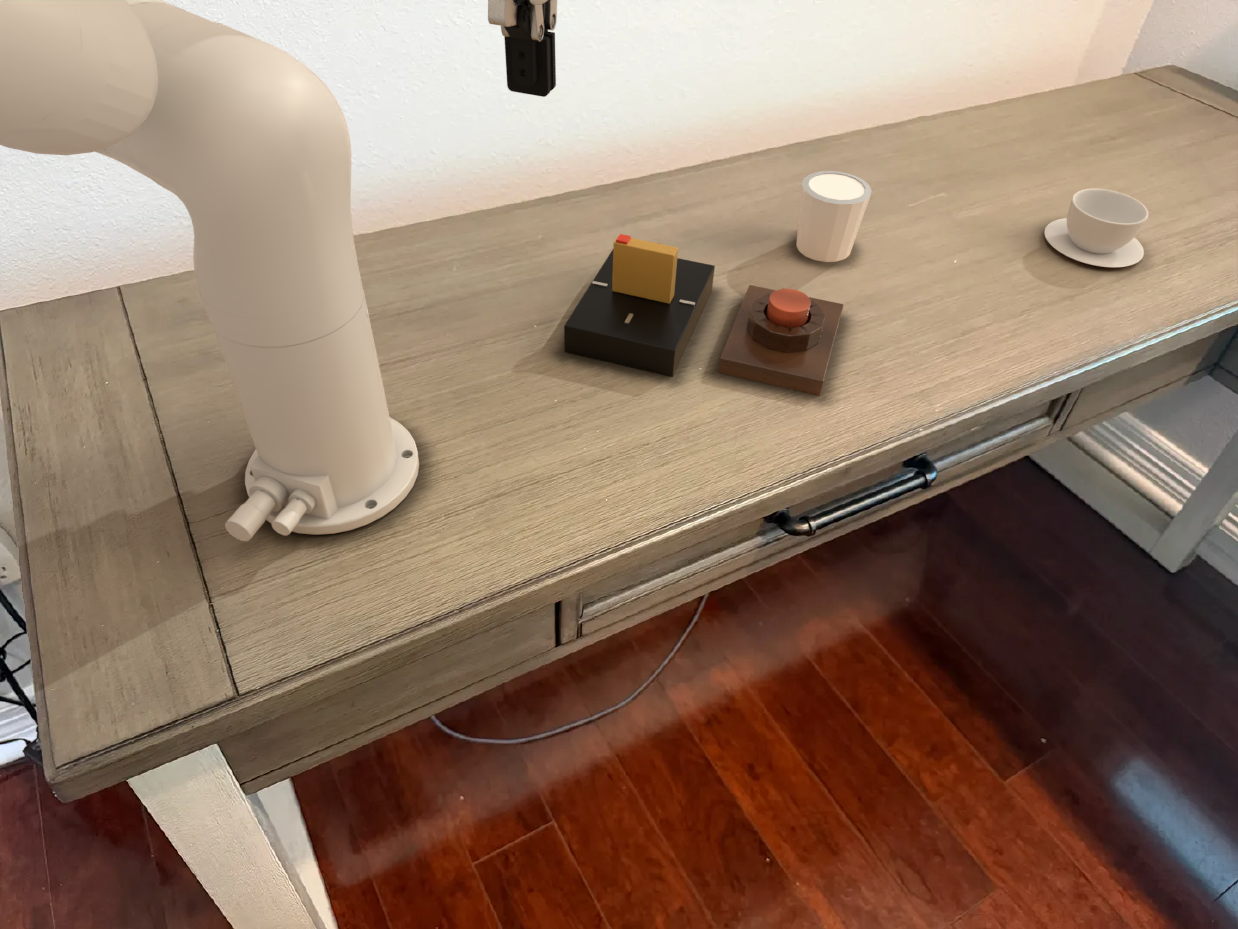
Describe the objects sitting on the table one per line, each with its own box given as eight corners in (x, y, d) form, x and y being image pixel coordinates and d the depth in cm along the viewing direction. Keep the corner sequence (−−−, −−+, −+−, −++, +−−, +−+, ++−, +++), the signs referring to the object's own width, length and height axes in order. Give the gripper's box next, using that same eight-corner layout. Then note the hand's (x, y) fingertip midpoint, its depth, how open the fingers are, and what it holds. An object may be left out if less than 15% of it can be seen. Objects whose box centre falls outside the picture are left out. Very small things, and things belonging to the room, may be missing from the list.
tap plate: (672, 378, 77) (675, 348, 75) (564, 353, 79) (563, 324, 77) (711, 292, 87) (715, 263, 84) (614, 271, 89) (615, 243, 86)
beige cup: (780, 254, 92) (792, 191, 87) (803, 224, 96) (815, 163, 91) (845, 273, 90) (860, 209, 85) (864, 242, 94) (880, 180, 89)
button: (803, 332, 77) (807, 315, 76) (762, 323, 78) (765, 306, 77) (810, 309, 80) (814, 293, 78) (770, 301, 80) (773, 284, 79)
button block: (819, 396, 76) (827, 364, 73) (717, 373, 78) (721, 341, 75) (840, 318, 84) (848, 287, 82) (747, 299, 86) (751, 267, 83)
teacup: (1130, 282, 90) (1151, 241, 87) (1031, 250, 94) (1048, 210, 91) (1150, 240, 96) (1170, 200, 93) (1056, 212, 100) (1072, 173, 97)
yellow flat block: (674, 295, 81) (678, 244, 77) (669, 304, 80) (674, 252, 76) (616, 283, 82) (618, 232, 78) (611, 291, 81) (613, 240, 77)
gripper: (530, -197, 47) (541, 140, 60) (619, -234, 57) (612, 61, 70) (401, -210, 48) (439, 122, 61) (511, -244, 58) (523, 47, 71)
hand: (531, 89), depth 66 cm, fingers closed
